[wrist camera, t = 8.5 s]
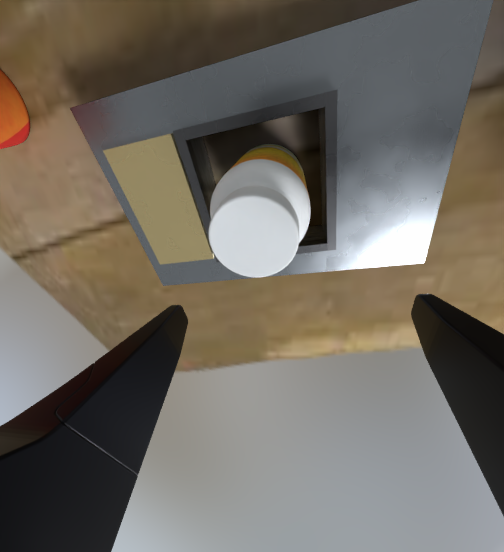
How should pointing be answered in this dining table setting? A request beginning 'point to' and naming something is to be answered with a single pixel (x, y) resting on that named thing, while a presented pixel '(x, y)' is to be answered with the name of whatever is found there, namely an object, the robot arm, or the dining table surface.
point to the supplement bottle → (260, 212)
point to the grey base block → (332, 132)
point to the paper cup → (12, 114)
